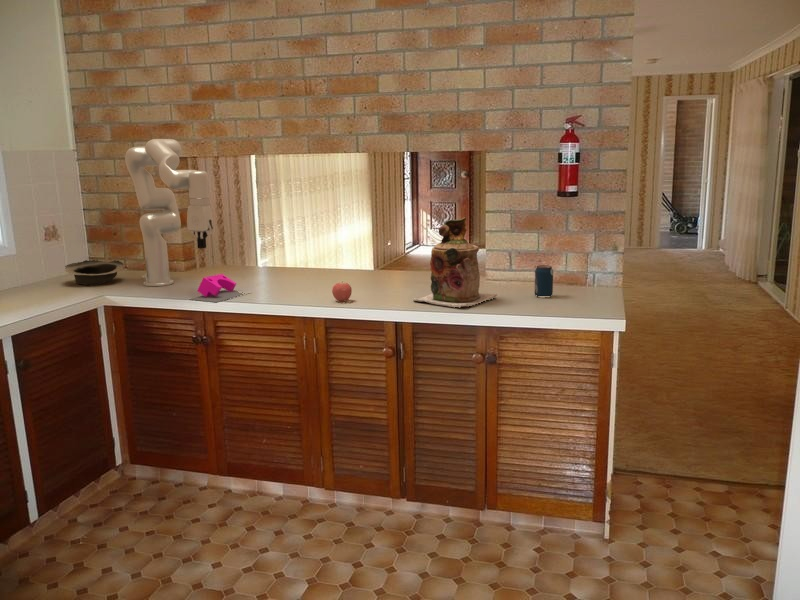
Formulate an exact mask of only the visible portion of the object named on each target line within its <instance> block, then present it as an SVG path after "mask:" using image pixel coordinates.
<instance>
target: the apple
mask: <svg viewBox="0 0 800 600" xmlns="http://www.w3.org/2000/svg"><path fill="white" fill-rule="evenodd" d="M331 289H332V290H331V291H332V295H333V297H334V299H335V300H336V301H337V302H340V303H341V302H346V301H348V300H349V299H350V298H351V297H352V286H351V285H350V284H349V283H348V282H344V281H343V280H342V282H338V283H335V284H334V285H333V287H332V288H331Z"/></svg>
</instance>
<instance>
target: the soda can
mask: <svg viewBox="0 0 800 600" xmlns="http://www.w3.org/2000/svg"><path fill="white" fill-rule="evenodd" d="M553 292H554V270H553V266H552V265H548V264H547V265H544V264H543V265H540V264H539V265H536V268H535V270H534V296H536V295H537V296H551V295H552V296H553ZM552 296H551V297H552Z"/></svg>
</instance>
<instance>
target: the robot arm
mask: <svg viewBox="0 0 800 600" xmlns="http://www.w3.org/2000/svg"><path fill="white" fill-rule="evenodd" d="M181 155H182V146H181V144H180V142H179V141H177V140H176V139H173V138H153V139H150V140H148V141H147V142H146V144H145V146H143V145H142V146H134V147H130V148H129V149H127V150H126V153H125V159H124V160H125V161H124V162H125V165H126V169H127V171H128V173H129V175H130V177H131V179H132V182H133V187H134V192H135V194H136V198H137V202H138V205H139V208H140V209H141V210H144V211H157V212H147V213H144V214H142V215H141V216H140V218H139V228H140V231H141V234H142V239H143V248H144V259H145V269H146V270H145V271H146V273H144V274H142V275H141V278H142V279H145V281H143V286H145V287H163V286H170V285H172V284H174V279H171V277H170V267H169V266H170V265H169V254H168V252H169V251H168V245H167V242H166V240H165V238H163V236H162V235H163V234H164V235H165V234H171V233H178V232H179V231H180V230H181V227H182V223H181V222H182V221H181V217H180V216H181V215H180V211H179V208H178V203H177V200H176V196H175V193H174V192H173V190H188V194H189V196H188V197H189V199H188V201H187V202H188V203H189V205H188V207H187V215H186V216H187V217H186V218H187V219H186V227H187V229H188V231H189V232H190V234H194V236H195V238H196V240H197V242H196V243H197V249H199V250H200V249H201V250H203V249H206V248H207V238H208V236H209V235H212V234H213V230H214V218H213V211H212V208H211V205H210V194H209V192H210V191H209V175H208V172H207V171H206V170H205V171H204V170H197V169H177V168H178V167H179V165H180V157H181ZM145 167H158V175H159V178H160V180H161V181H162V182H163V183H164V184H165V186H167V187H156V183H155V180H154V177H153V175H152V174H151V173H150V172H149V171H148V170H147V169H146V168H145ZM158 210H162V211H158Z"/></svg>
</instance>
